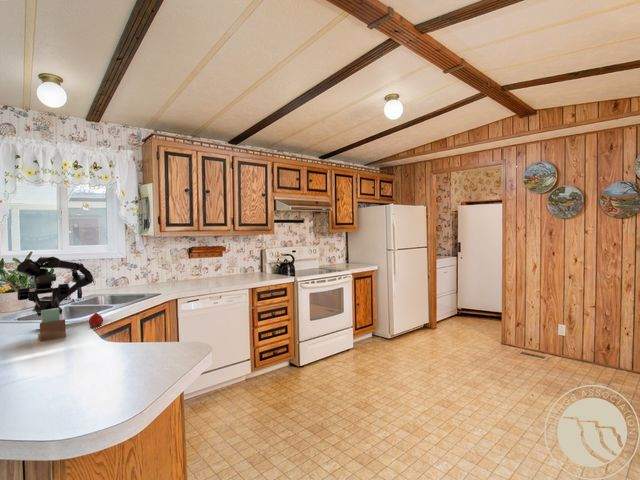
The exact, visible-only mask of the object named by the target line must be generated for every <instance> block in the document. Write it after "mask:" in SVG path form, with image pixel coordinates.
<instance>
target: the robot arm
mask: <svg viewBox="0 0 640 480" xmlns="http://www.w3.org/2000/svg"><path fill="white" fill-rule="evenodd" d="M48 269H63V270H71V277H72V281H71V282H69V283H67V282H66V283H59V284H58V286H57V287H53V282H56V280H57V275H56V273H51V272H50V271H49V270H48ZM16 270H17V272H19V273H21V274H22V275H25V276H27V277H30V278H31V277H33V282H34V288H30V287H20V288H18V289H17V291H16V292H17V294H16V296H17V301H24V300H28V301H31V302H33V303H34V304H35V306H34V311H35V312H36V315H37V317H41V310H47V309H54V308H59V314H60V315H62V313H63V309H62V308H61V307H60V305H61V303H62V302H63V301H65V300H66V299H67V298H68V297H70V296H71V295H72V294H73V293H75V292H76V291H78V290H79V289H80V288H81V287H87V286H88V285H90V284H92V282H94V277H93V275H92V273H91V271H90V270H89V269H88V268H86V267H85V266H84V264H83V263H82V262H74V261H73V262H72V261H68V260H67V261H66V260H61V259H60V258H58V257H55V256H40V257H39V258H38V259H37V260H35V261H34V260H32V259H30V258H25V259H24V260H23V261H22V262H20V263H19V264H17V267H16ZM78 271H79V272H80V273H79V272H78ZM49 293H50V294H51V296H43V297H41V299H40V298H39V295H44V294H49Z"/></svg>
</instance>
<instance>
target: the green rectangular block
mask: <svg viewBox="0 0 640 480" xmlns="http://www.w3.org/2000/svg"><path fill="white" fill-rule="evenodd" d="M60 316H61V314H59V308H54V309H47V310H41V316H40V318H41V319H40V320H41V321H40V323H44V322H50V321H56V320H61V317H60Z"/></svg>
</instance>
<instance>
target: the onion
mask: <svg viewBox="0 0 640 480" xmlns="http://www.w3.org/2000/svg"><path fill="white" fill-rule="evenodd" d="M103 323H104V319H103V317H102V316H101V314H98V311H96V312H94V313H93V315H91V316H90V317H89V319H88V324H89V325H90V327H92V328H98V327H100V326H102V325H103Z"/></svg>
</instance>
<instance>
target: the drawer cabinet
mask: <svg viewBox="0 0 640 480" xmlns="http://www.w3.org/2000/svg"><path fill="white" fill-rule="evenodd" d="M37 336H38V337H37V338H38V339H39V341H40V342H41V343H43V342H47V341H48V342H49V341H52V340H57V339H58V340H59V339H62V338H66V337H67V331H66V319H65V318H64V319H60V320H56V321H50V322H44V323H41V322H39V333H38V334H37Z"/></svg>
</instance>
